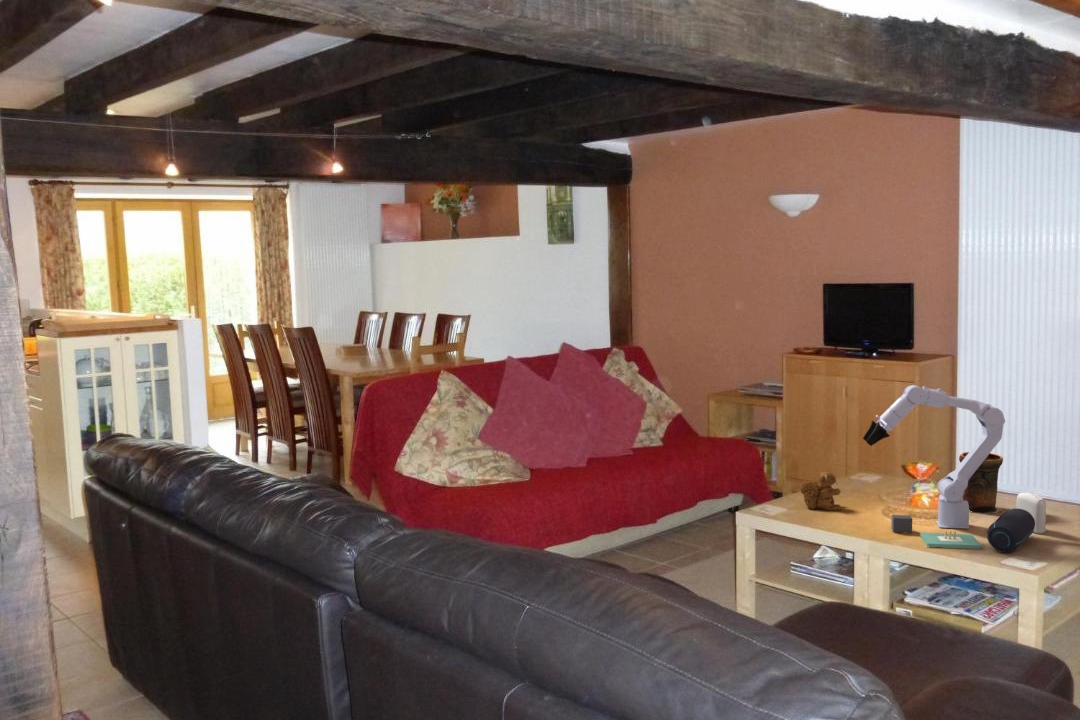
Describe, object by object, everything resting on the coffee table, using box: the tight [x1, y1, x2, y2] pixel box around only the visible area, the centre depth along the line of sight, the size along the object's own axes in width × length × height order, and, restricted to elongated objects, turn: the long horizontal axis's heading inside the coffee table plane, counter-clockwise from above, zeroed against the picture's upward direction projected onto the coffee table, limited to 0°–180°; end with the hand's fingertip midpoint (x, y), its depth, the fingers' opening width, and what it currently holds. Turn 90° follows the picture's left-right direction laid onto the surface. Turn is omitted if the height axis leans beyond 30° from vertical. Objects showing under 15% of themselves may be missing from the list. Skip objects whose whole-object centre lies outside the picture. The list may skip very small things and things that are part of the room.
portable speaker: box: [986, 507, 1035, 553], centre depth 301 cm, size 25×10×10 cm, turn 140°
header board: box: [919, 530, 982, 550], centre depth 305 cm, size 16×12×4 cm
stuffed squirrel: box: [799, 471, 842, 511], centre depth 350 cm, size 10×14×13 cm
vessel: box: [958, 451, 1004, 515], centre depth 342 cm, size 14×14×20 cm
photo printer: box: [1015, 492, 1047, 534], centre depth 316 cm, size 10×4×12 cm, turn 14°
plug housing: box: [890, 514, 913, 534], centre depth 318 cm, size 6×4×5 cm, turn 78°
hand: (866, 442), depth 324 cm, fingers open, 7 cm apart
